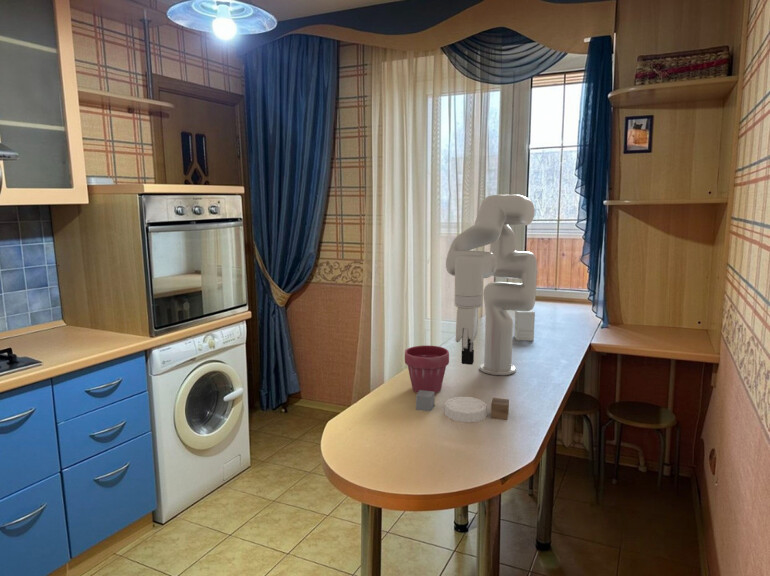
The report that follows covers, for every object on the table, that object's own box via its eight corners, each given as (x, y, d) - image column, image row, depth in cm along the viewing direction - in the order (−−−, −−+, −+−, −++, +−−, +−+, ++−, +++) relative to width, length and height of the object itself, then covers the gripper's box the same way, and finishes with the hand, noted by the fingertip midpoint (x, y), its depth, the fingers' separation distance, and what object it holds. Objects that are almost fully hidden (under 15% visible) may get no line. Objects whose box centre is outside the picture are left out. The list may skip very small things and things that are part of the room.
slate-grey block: (419, 404, 163) (419, 390, 162) (434, 406, 161) (434, 391, 161) (415, 410, 158) (416, 395, 158) (431, 411, 157) (431, 397, 156)
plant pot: (397, 384, 179) (397, 347, 177) (436, 379, 184) (436, 343, 182) (415, 400, 166) (415, 359, 164) (456, 394, 171) (457, 354, 169)
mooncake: (458, 403, 164) (459, 391, 163) (494, 413, 156) (494, 401, 156) (436, 415, 155) (436, 403, 154) (473, 427, 147) (473, 414, 147)
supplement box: (531, 336, 239) (532, 308, 237) (533, 341, 232) (535, 312, 229) (513, 336, 240) (515, 308, 237) (516, 340, 232) (517, 311, 230)
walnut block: (492, 412, 157) (492, 397, 156) (508, 414, 155) (509, 399, 154) (490, 418, 152) (491, 403, 152) (507, 420, 151) (507, 405, 150)
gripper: (459, 293, 158) (458, 354, 162) (450, 305, 144) (449, 371, 148) (485, 294, 156) (484, 355, 160) (478, 307, 142) (477, 373, 146)
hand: (467, 363), depth 154 cm, fingers closed
